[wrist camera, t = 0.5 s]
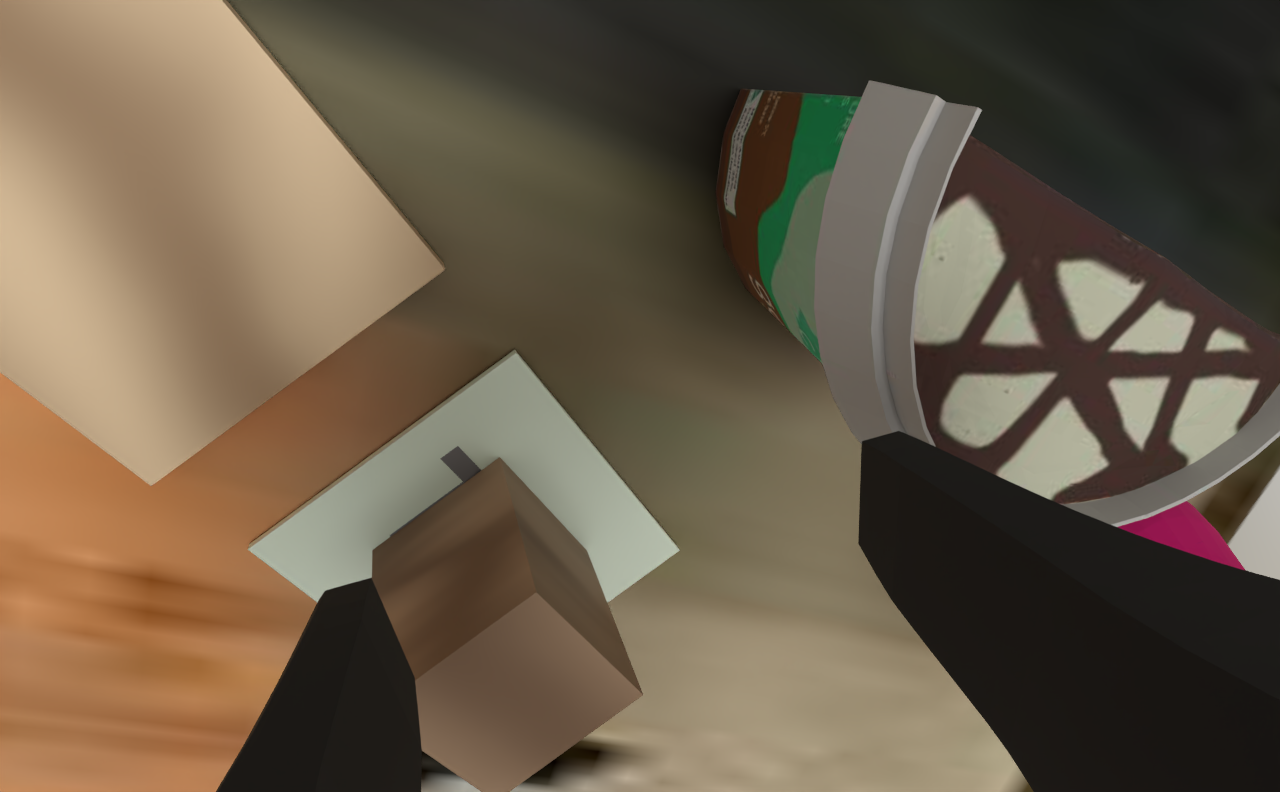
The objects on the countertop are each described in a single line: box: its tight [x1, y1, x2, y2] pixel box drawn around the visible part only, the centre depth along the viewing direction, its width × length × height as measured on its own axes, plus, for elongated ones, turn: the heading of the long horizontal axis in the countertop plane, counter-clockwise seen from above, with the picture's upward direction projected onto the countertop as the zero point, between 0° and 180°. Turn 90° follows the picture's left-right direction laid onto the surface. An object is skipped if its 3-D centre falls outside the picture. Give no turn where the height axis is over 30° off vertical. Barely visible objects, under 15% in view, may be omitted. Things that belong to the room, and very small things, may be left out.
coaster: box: [0, 0, 445, 486], centre depth 17 cm, size 9×9×1 cm
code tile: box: [248, 350, 679, 603], centre depth 23 cm, size 9×9×1 cm
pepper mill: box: [1118, 501, 1246, 571], centre depth 20 cm, size 7×7×20 cm
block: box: [372, 457, 643, 792], centre depth 20 cm, size 4×4×6 cm
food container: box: [716, 80, 1280, 527], centre depth 18 cm, size 12×6×10 cm, turn 63°
